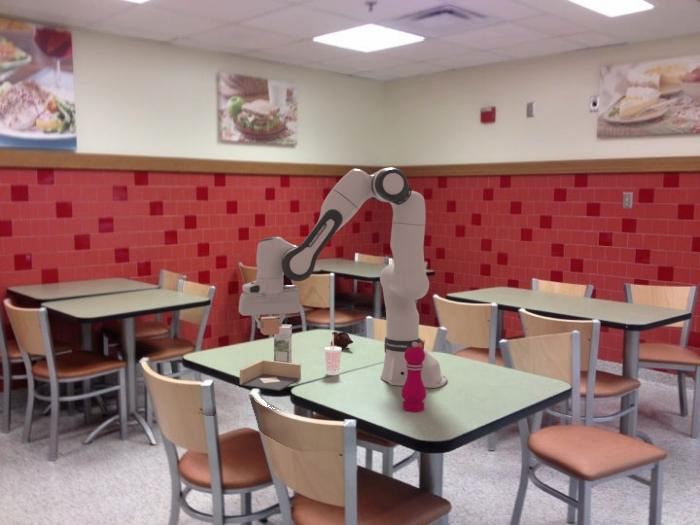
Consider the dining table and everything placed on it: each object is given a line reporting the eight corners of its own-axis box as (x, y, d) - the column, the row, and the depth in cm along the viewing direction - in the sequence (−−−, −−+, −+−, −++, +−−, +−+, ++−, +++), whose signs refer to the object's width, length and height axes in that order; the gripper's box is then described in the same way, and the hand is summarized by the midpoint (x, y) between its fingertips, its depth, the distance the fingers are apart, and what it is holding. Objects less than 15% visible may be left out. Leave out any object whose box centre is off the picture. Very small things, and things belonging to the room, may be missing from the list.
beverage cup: (343, 371, 227) (344, 332, 225) (338, 376, 221) (339, 336, 219) (327, 370, 228) (327, 331, 227) (321, 374, 222) (322, 335, 221)
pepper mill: (423, 404, 191) (425, 338, 189) (427, 412, 184) (429, 344, 182) (399, 404, 191) (401, 338, 189) (402, 412, 184) (404, 344, 182)
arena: (300, 378, 217) (300, 364, 217) (279, 390, 203) (279, 375, 203) (262, 373, 223) (262, 359, 222) (238, 385, 209) (238, 370, 208)
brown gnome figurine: (361, 334, 259) (340, 331, 272) (346, 332, 255) (326, 328, 267) (358, 351, 259) (338, 347, 271) (343, 349, 254) (323, 345, 267)
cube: (275, 331, 215) (275, 316, 215) (279, 334, 211) (279, 319, 210) (260, 332, 213) (260, 317, 213) (264, 335, 209) (264, 319, 208)
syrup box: (292, 362, 239) (292, 324, 238) (288, 366, 233) (289, 327, 232) (276, 361, 240) (277, 323, 238) (273, 365, 234) (273, 326, 232)
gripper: (297, 283, 217) (296, 323, 219) (237, 285, 210) (237, 327, 211) (302, 286, 212) (302, 327, 213) (241, 288, 204) (241, 331, 205)
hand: (269, 327), depth 212 cm, fingers closed on cube, 5 cm apart
